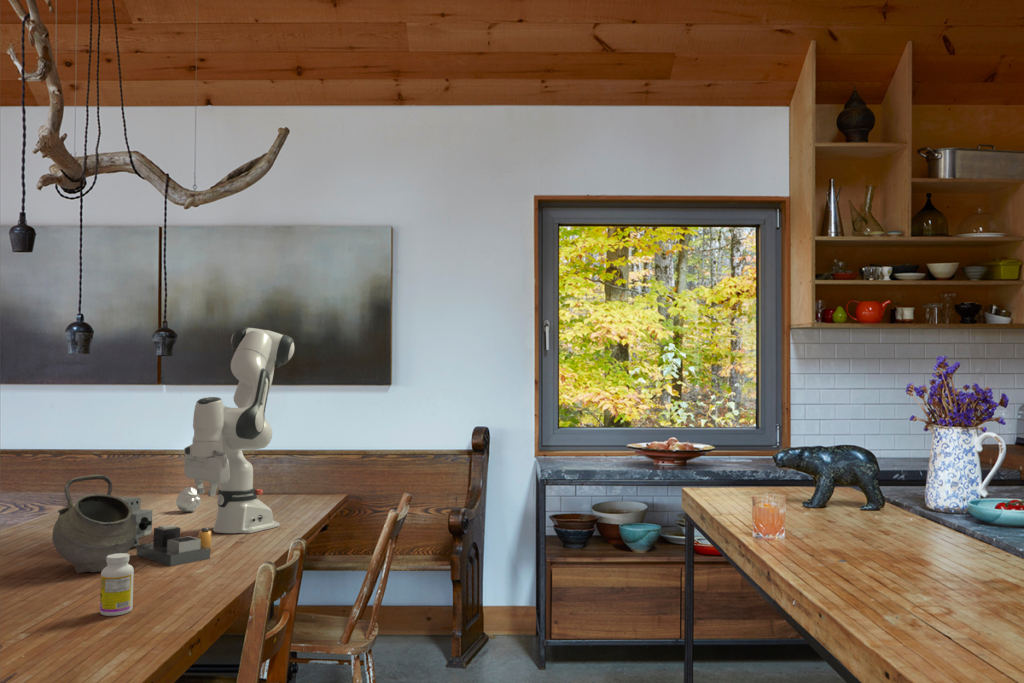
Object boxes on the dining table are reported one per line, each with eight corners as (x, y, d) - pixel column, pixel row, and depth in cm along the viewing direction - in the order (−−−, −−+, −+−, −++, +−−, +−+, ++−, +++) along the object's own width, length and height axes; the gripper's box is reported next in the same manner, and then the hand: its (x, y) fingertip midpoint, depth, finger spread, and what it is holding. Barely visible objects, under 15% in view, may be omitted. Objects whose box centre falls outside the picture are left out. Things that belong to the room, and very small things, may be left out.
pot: (57, 562, 217) (60, 474, 219) (137, 556, 225) (140, 471, 227) (44, 580, 198) (48, 484, 200) (132, 573, 207) (136, 480, 208)
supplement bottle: (107, 608, 176) (109, 552, 177) (137, 607, 177) (139, 551, 177) (94, 617, 169) (96, 558, 170) (125, 616, 170) (127, 558, 170)
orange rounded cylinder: (206, 549, 236) (207, 526, 236) (213, 551, 234) (213, 528, 234) (195, 551, 233) (196, 528, 234) (202, 553, 231) (202, 529, 231)
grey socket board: (175, 548, 237) (176, 522, 237) (209, 558, 224) (210, 531, 225) (136, 555, 227) (137, 528, 228) (170, 566, 215) (171, 537, 215)
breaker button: (169, 540, 231) (169, 524, 231) (175, 542, 229) (176, 525, 229) (157, 542, 228) (158, 526, 228) (163, 544, 226) (164, 527, 226)
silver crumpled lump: (175, 515, 293) (176, 488, 293) (176, 510, 301) (177, 485, 302) (200, 513, 296) (201, 487, 296) (200, 509, 305) (201, 484, 305)
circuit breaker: (139, 551, 232) (141, 502, 233) (99, 549, 235) (100, 500, 235) (155, 546, 239) (157, 498, 240) (116, 543, 242) (118, 496, 243)
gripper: (235, 451, 231) (234, 497, 230) (199, 447, 244) (198, 490, 243) (216, 453, 226) (215, 500, 226) (181, 448, 239) (179, 492, 238)
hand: (206, 495), depth 234 cm, fingers open, 5 cm apart
